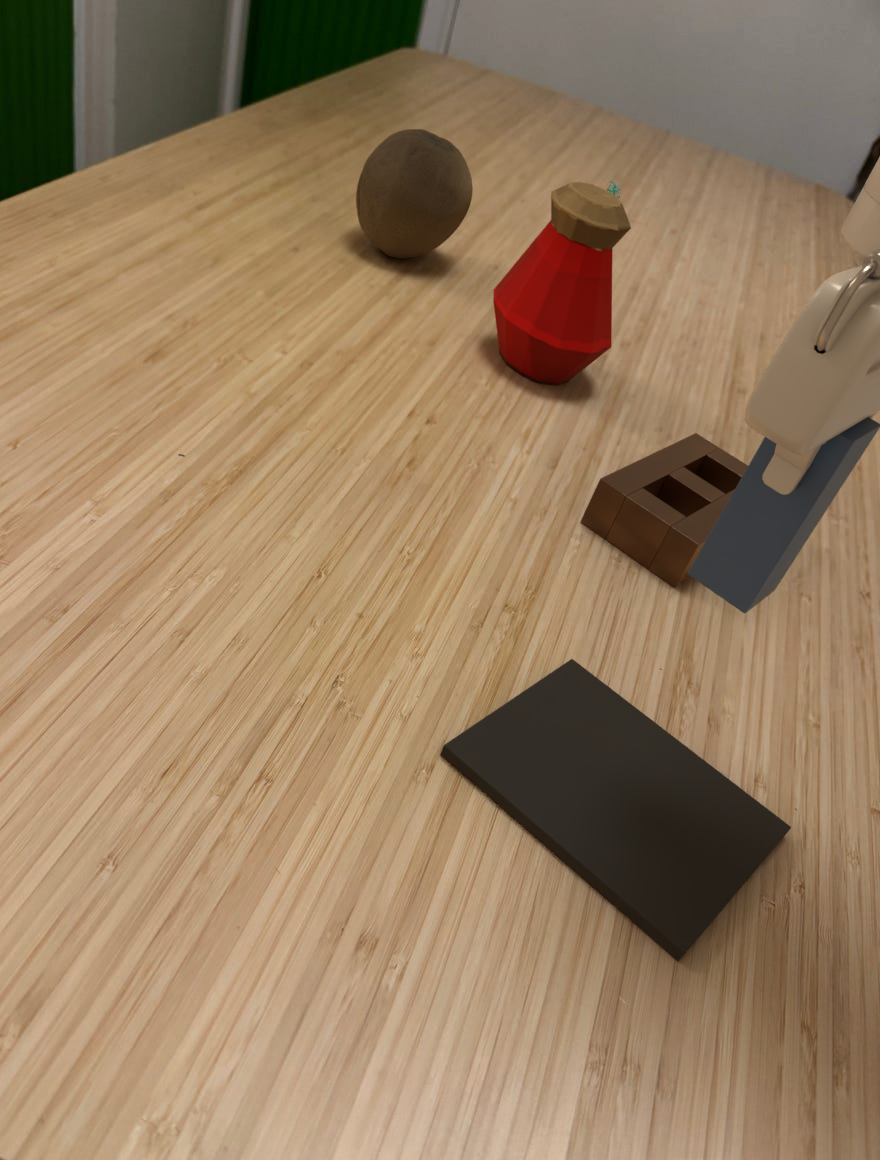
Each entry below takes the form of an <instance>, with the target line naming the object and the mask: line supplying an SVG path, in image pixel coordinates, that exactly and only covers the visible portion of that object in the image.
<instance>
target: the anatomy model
mask: <svg viewBox="0 0 880 1160" xmlns="http://www.w3.org/2000/svg"><path fill="white" fill-rule="evenodd" d="M583 182H584V181H583ZM584 183H586V182H584ZM611 184H613V185H611ZM606 190H607V191H608V192H610V193H612V194H613V195H615V196H616V195H617V194H619V195H617V196H616V197H617V198H618V199H619V200H620V199H621V193H620V192H619V191H621V190H622V189H621V187H619V186H617V184H616V183H615V182H614V181H613V180H612V179H611V180H610V184H609V186H608V188H606Z"/></svg>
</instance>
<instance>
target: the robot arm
mask: <svg viewBox="0 0 880 1160" xmlns="http://www.w3.org/2000/svg"><path fill="white" fill-rule="evenodd" d="M840 236H841V238H842V239H843V241H844V242H845V244H846V245H847V246H849V248H850V249H852V250H853V251H854V252H855V253H856V254H855V255H854V258H853V259H852V260H851V263H850V264H849V266H848V268H847V269H846V270H842V271H840V272H836V273H834V274H832V275H831V276H829V277H828V278H827V279H825V280H824V281H823V282H822V283H821V284H820V285H819V286H818V287H817V288H816V289H815V291H814V292H813V293H812V295H811V296H810V298H809V299H808V300H807V301H806V303H805V305H804V306H803V307H802V308H801V310H800V312H799V314H798V315H797V316H796V318H795V320H794V321H793V323H792V325H791V326H790V328H789V329H788V331H787V333H786V334H785V336H784V337H783V339H782V341H781V342H780V344H779V346H778V347H777V349H776V351H775V353H774V354H773V355H772V358H771V359H770V361H769V362H768V364H767V366H766V367H765V369H764V370H763V373H762V374H761V376H760V378H759V380H758V381H757V382H756V384H755V387H754V388H753V390H752V391H751V393H750V395H749V397H748V400H747V402H746V406H745V411H744V422H745V424H746V425H747V426H748V427H749V428H751V429H752V430H754V431H756V432H757V433H758V434H760V435H762V436H763V437H764V438H765V437H766V438H768V439H769V440H771V441H773V442H774V443H776V448H775V452H774V453H775V454H774V456H773V457H772V459H771V461H770V463H769V464H768V466H767V468H766V470H765V471H764V473H763V477H762V480H763V481H764V483H765V484H766V485H767V486H769V487H770V488H772V489H773V490H775V491H777V492H778V493H780V494H782V495H787V494H789V493H791V492H792V491H794V490H796V489H797V488H798V487H800V486H801V484H802V483H803V481H804V479H805V478H806V476H807V475H808V473H809V472H810V470H811V468H812V467H813V465H814V464H812V461H813V460H814V458H815V456H816V454H817V452H818V451H819V449H820V447H821V445H823V444H825V443H826V442H827V441H828V440H830V439H832V438H833V437H835V436H837V435H838V434H840V433H842V432H843V431H845V430H847V429H848V428H850V427H852V426H854V425H855V424H857V423H859V422H860V421H862V420H864V419H865V418H867V417H869V418H871V419H872V420H873V419H874V418H875V416H876V415H878V413H879V411H880V156H879V157H878V159H877V161H876V163H875V165H874V166H873V168H872V169H871V172H870V174H869V176H868V178H867V179H866V181H865V183H864V185H863V186H862V189H861V191H860V193H859V194H858V196H857V198H856V200H855V202H854V203H853V205H852V207H851V209H850V210H849V213H848V215H847V216H846V218H845V220H844V222H843V224H842V226H841V227H840Z"/></svg>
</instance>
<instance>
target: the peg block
mask: <svg viewBox="0 0 880 1160" xmlns="http://www.w3.org/2000/svg"><path fill="white" fill-rule="evenodd" d="M748 466H749V464H747V463H745V462H743V461H741V460H740V459H739V458H737V457H735V456H733V455H732V454H730V453H729V452H727V451H726V450H724V449H722V448H721V447H719V446H718V445H716V444H714V443H713V442H711V441H709V439H706V438H705V437H704V436H702V435H700V434H698V433H697V432H695V433H693V434H691V435H688V436H687V437H684V438H682V439H680V440H678V441H676V442H674V443H672V444H670V445H668V446H665V447H663V448H661V449H659V450H657V451H655V452H653V453H651V454H649V455H647V456H645V457H642V458H641V459H639V460H637V461H634V462H632V463H630V464H628V465H626V466H624V467H621V468H620V469H617V470H616V471H613V472H611V473H609V474H607V475H604V476H602V477H601V478H600V479H599V480H598V483H597V485H596V486H595V488H594V491H593V494H592V496H591V498H590V499H589V501H588V504H587V506H586V508H585V511H584V513H583V515H582V517H581V520H580V523H581V524H582V525H584V526H585V527H587V528H588V529H589V530H591V531H592V532H594V533H595V534H596V535H598V536H599V537H601V538H602V539H604V540H606V541H607V542H608V543H610V544H611V545H613V546H614V547H616V548H617V549H619V550H620V551H621V552H623V553H624V554H626V555H627V556H629V557H630V558H631V559H633V560H634V561H636V562H637V563H639V564H640V565H641V566H643V567H644V568H646V569H647V570H648V571H650V572H651V573H653V574H654V575H655V576H657V577H658V578H660V579H661V580H663V581H664V582H665V583H667V584H668V585H670V586H671V587H672V588H677V587H679V585H681V584H682V583H684V582H685V581H687V580H688V579H689V578H692V577H691V576H690V575H688V571H689V570H690V568H691V566H692V564H693V563H694V561H695V559H696V557H697V556H698V554H699V552H700V550H701V549H702V547H703V545H704V543H705V541H706V540H707V538H708V536H709V534H710V533H711V531H712V529H713V527H714V526H715V524H716V522H717V520H718V519H719V517H720V515H721V513H722V512H723V510H724V508H725V506H726V504H727V503H728V501H729V499H730V497H731V496H732V494H733V492H734V490H735V489H736V487H737V485H738V483H739V482H740V480H741V478H742V476H743V475H744V473H745V471H746V469H747V467H748Z"/></svg>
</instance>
